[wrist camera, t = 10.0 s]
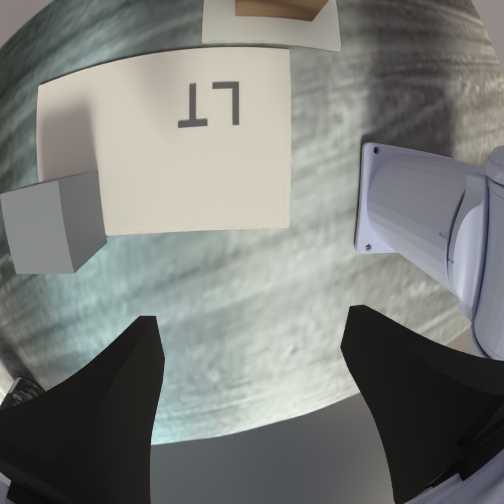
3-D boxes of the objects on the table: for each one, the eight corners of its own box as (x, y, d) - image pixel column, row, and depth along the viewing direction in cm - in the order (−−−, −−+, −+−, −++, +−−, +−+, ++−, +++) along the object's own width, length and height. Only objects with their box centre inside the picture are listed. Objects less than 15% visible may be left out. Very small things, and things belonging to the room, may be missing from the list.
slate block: (98, 170, 15) (58, 180, 11) (107, 242, 17) (74, 273, 12) (43, 180, 15) (0, 194, 10) (53, 246, 17) (16, 273, 12)
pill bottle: (9, 374, 22) (-24, 432, 11) (34, 376, 22) (-2, 444, 11) (33, 404, 24) (8, 462, 13) (59, 408, 24) (34, 474, 13)
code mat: (288, 51, 14) (290, 48, 14) (288, 226, 18) (289, 227, 18) (40, 86, 12) (37, 85, 12) (49, 238, 17) (47, 240, 16)
